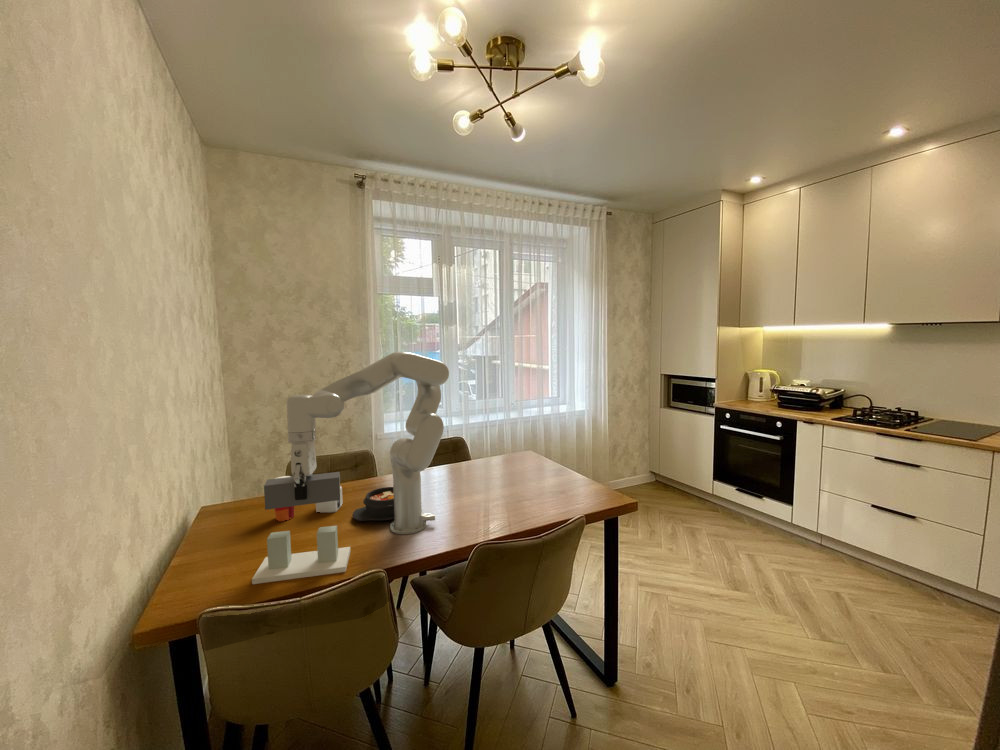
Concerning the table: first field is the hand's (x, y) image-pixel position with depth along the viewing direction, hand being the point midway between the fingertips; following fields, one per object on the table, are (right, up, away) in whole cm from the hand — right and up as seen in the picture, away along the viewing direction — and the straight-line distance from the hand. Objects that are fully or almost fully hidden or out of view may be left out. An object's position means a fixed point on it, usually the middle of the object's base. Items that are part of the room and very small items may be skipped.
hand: (304, 494), depth 124 cm
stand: (+2, -20, -3) cm, 21 cm away
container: (-9, -17, +39) cm, 44 cm away
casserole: (+16, -18, +33) cm, 41 cm away
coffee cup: (-22, -18, +31) cm, 42 cm away
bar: (0, -2, 0) cm, 2 cm away
